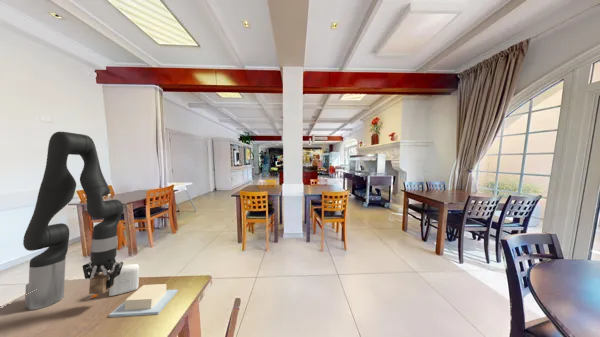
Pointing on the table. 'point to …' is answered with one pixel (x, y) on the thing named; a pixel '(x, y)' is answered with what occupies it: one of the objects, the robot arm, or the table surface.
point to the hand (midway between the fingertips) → (102, 287)
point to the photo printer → (126, 280)
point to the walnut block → (98, 284)
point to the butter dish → (145, 301)
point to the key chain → (94, 296)
